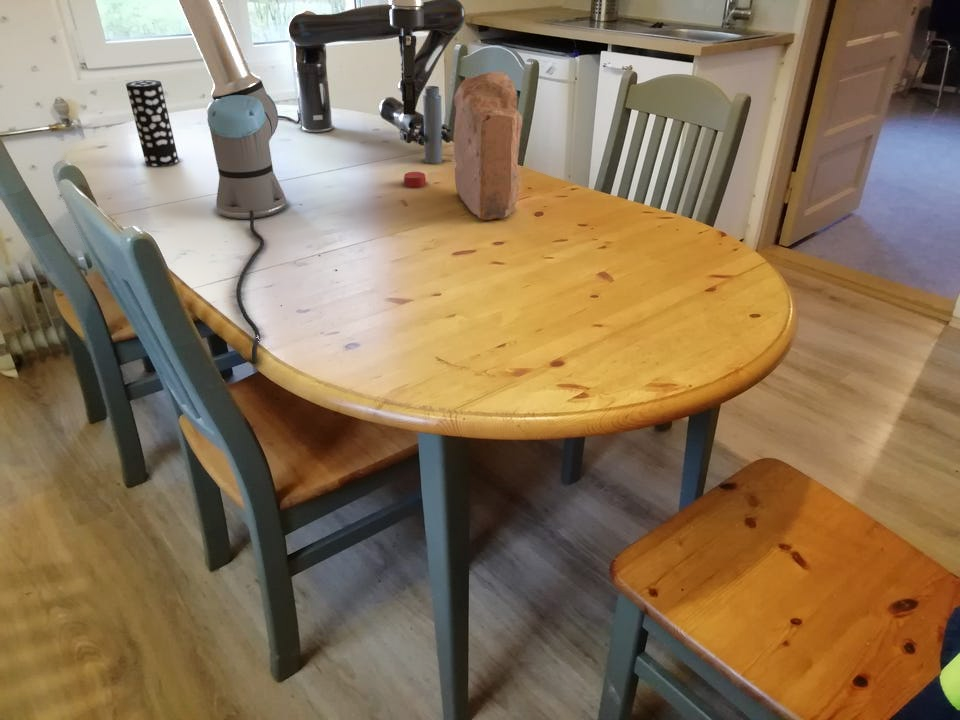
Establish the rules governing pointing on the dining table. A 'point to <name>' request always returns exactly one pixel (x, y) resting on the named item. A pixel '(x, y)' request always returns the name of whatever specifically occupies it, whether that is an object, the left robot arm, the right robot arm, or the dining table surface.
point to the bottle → (432, 125)
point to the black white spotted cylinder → (152, 122)
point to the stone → (487, 145)
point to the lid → (414, 179)
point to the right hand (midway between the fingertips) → (435, 140)
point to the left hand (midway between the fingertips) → (408, 107)
